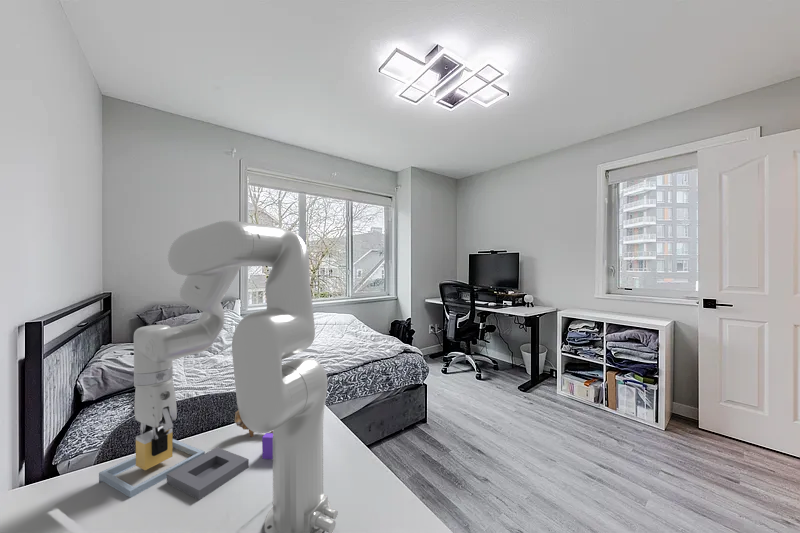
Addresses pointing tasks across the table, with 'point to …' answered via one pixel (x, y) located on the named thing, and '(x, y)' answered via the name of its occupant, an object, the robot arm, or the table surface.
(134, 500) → the table surface
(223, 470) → the block
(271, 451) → the purple rectangular block
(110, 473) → the tray
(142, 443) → the block
